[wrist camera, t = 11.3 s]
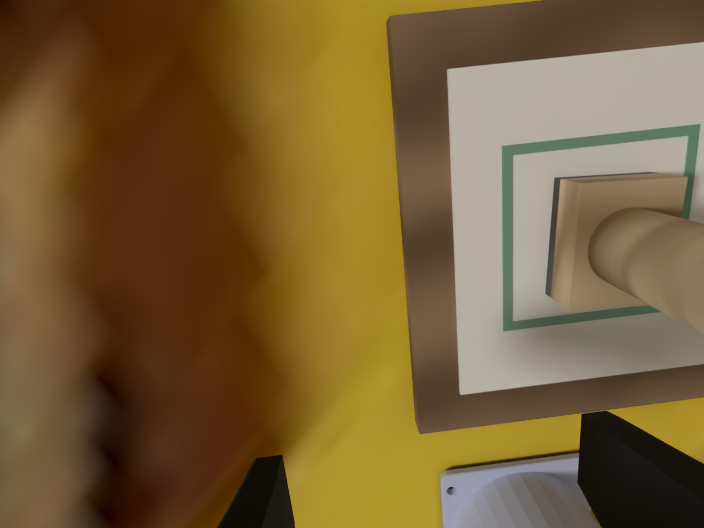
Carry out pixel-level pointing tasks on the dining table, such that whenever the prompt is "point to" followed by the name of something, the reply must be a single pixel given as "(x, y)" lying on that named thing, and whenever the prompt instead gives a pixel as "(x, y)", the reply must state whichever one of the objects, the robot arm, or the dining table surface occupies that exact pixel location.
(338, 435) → the dining table surface
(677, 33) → the desk board
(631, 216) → the stamp
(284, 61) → the dining table surface
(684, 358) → the paper
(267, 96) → the dining table surface
